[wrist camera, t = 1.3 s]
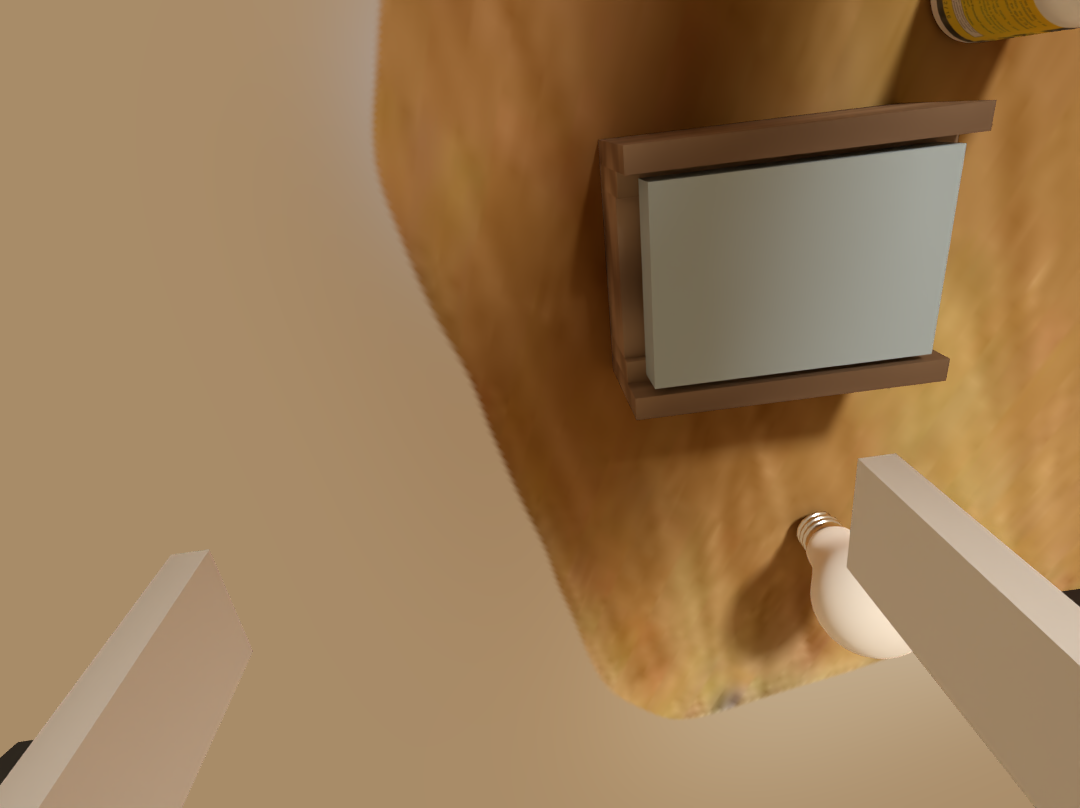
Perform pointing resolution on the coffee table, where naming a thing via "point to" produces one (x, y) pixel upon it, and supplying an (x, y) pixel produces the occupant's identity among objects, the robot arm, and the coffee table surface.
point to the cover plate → (796, 262)
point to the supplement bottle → (1003, 18)
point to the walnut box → (738, 148)
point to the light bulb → (844, 593)
